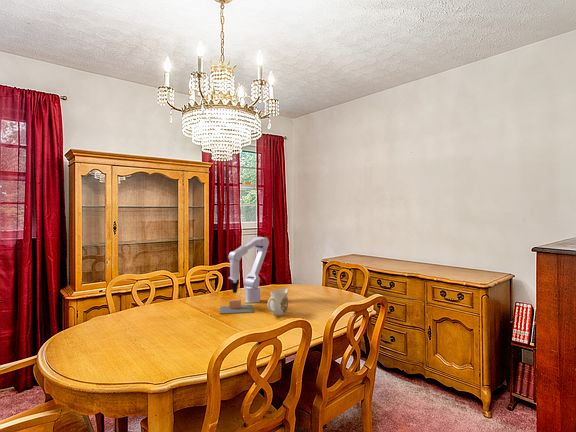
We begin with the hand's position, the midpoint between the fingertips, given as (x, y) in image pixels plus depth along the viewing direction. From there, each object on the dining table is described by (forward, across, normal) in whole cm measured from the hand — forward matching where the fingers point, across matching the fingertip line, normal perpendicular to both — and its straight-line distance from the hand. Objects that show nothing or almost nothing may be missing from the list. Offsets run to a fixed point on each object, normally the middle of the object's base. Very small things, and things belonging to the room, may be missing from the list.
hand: (234, 291), depth 217 cm
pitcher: (+10, +20, +25) cm, 33 cm away
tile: (+9, +6, 0) cm, 10 cm away
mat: (+9, +8, +1) cm, 12 cm away
